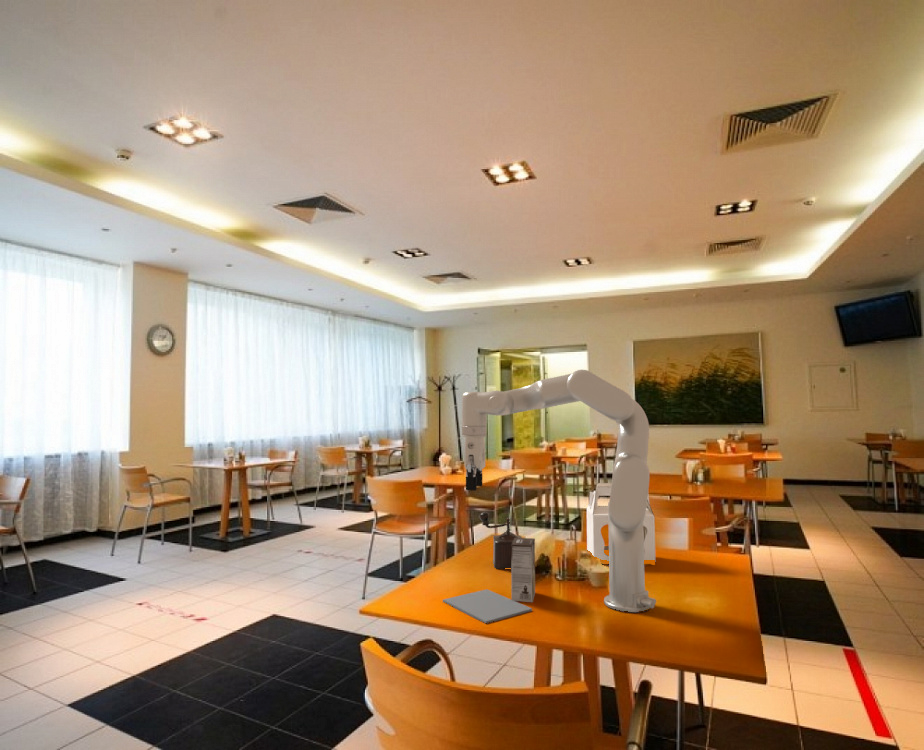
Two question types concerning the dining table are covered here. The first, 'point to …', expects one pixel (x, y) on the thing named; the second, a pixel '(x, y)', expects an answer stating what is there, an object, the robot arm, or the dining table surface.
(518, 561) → the coffee box
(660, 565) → the dining table surface
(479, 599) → the mat
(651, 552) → the gable box
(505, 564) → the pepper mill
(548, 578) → the dining table surface
